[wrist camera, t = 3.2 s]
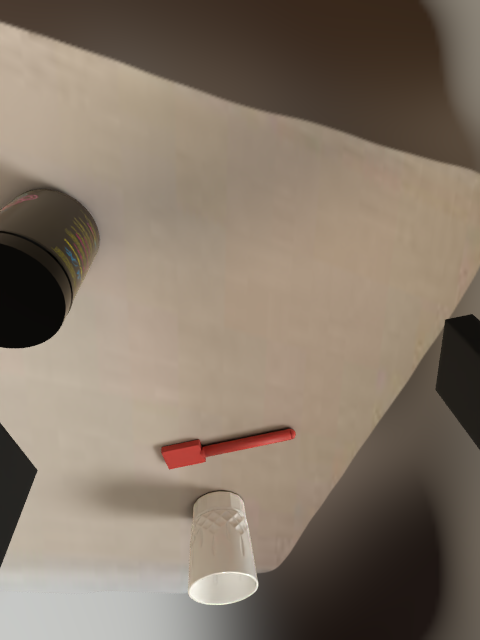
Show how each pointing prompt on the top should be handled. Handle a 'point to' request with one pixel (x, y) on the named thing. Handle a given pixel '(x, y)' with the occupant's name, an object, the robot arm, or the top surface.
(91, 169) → the top surface
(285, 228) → the top surface
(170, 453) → the red rod with block
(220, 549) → the white cup
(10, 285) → the supplement container
